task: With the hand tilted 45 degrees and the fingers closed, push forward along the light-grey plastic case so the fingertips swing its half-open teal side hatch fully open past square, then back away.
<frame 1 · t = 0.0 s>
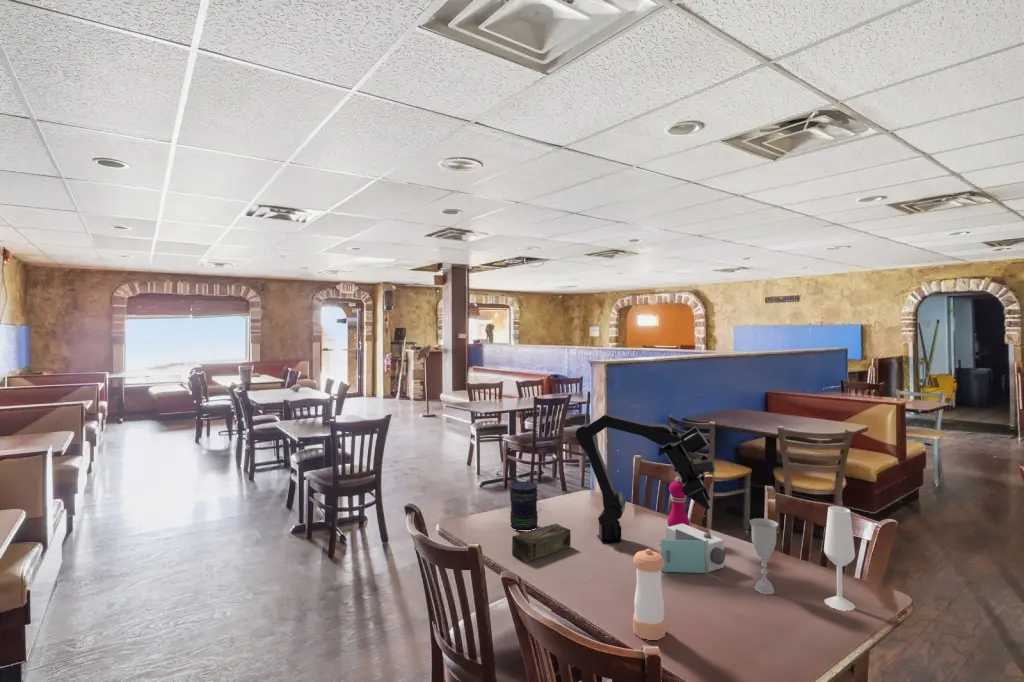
hand: (708, 504, 169), 15 cm above the table, tool tilted 35°, fingers open, 9 cm apart
beverage carton: (541, 552, 171), on the table
salt shaker: (649, 633, 124), on the table
chalice: (764, 590, 143), on the table
pepper mill: (678, 536, 182), on the table
hatch: (683, 556, 154), point 5 cm above the table, hinge at 55.0°
case: (694, 559, 163), on the table
champagne flute: (839, 604, 135), on the table
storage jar: (524, 527, 193), on the table
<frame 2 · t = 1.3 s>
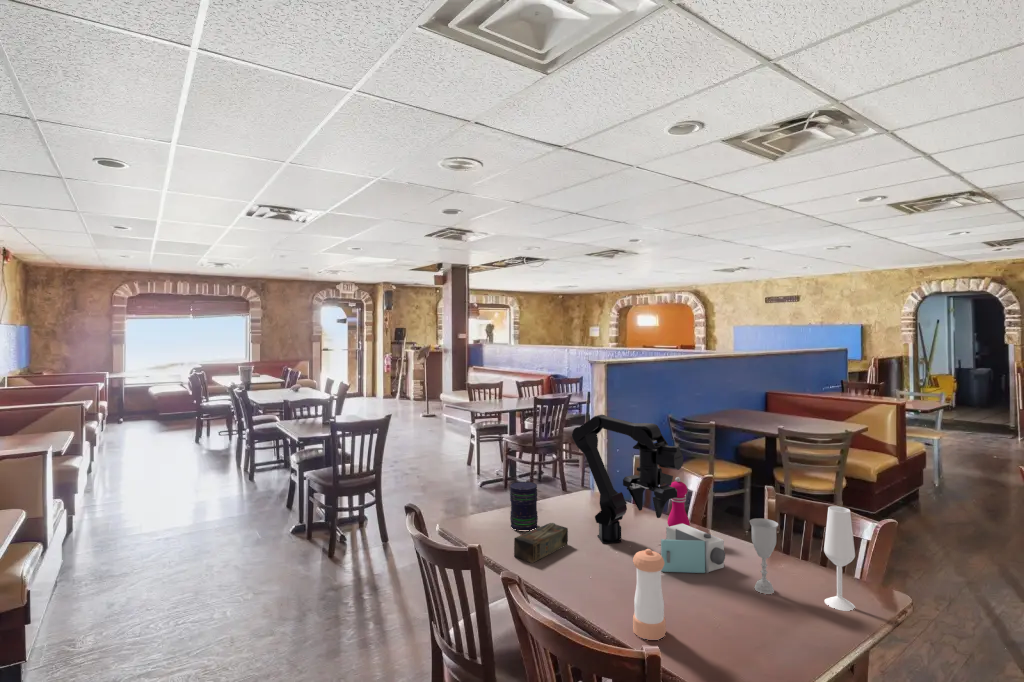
hand: (649, 514, 169), 12 cm above the table, tool pointing down, fingers open, 8 cm apart
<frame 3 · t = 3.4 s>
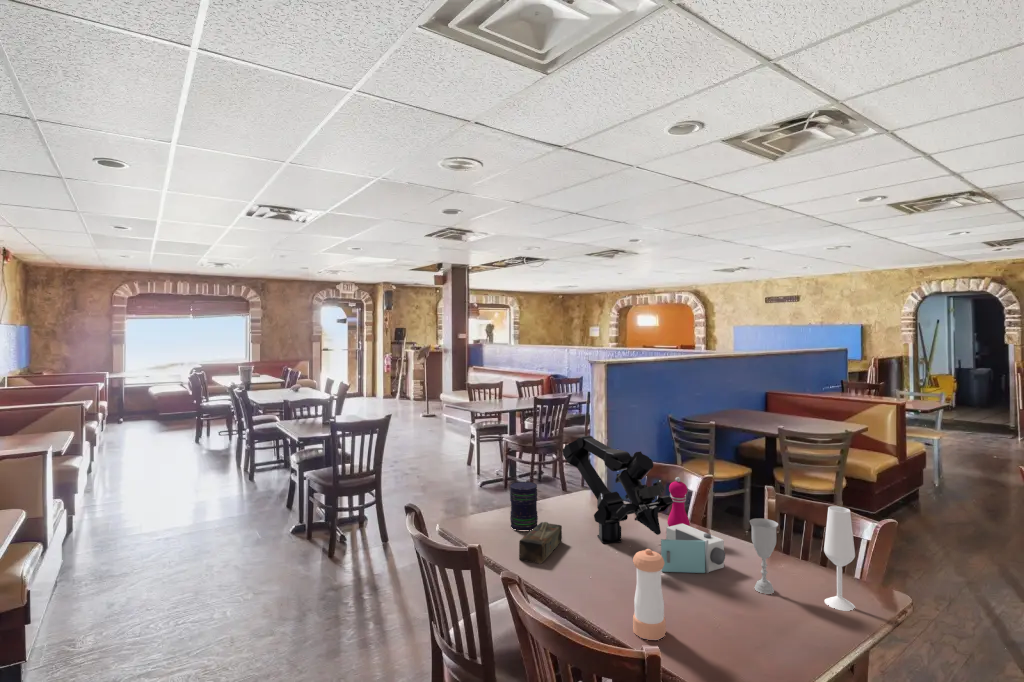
hand: (659, 534, 159), 9 cm above the table, tool tilted 45°, fingers closed
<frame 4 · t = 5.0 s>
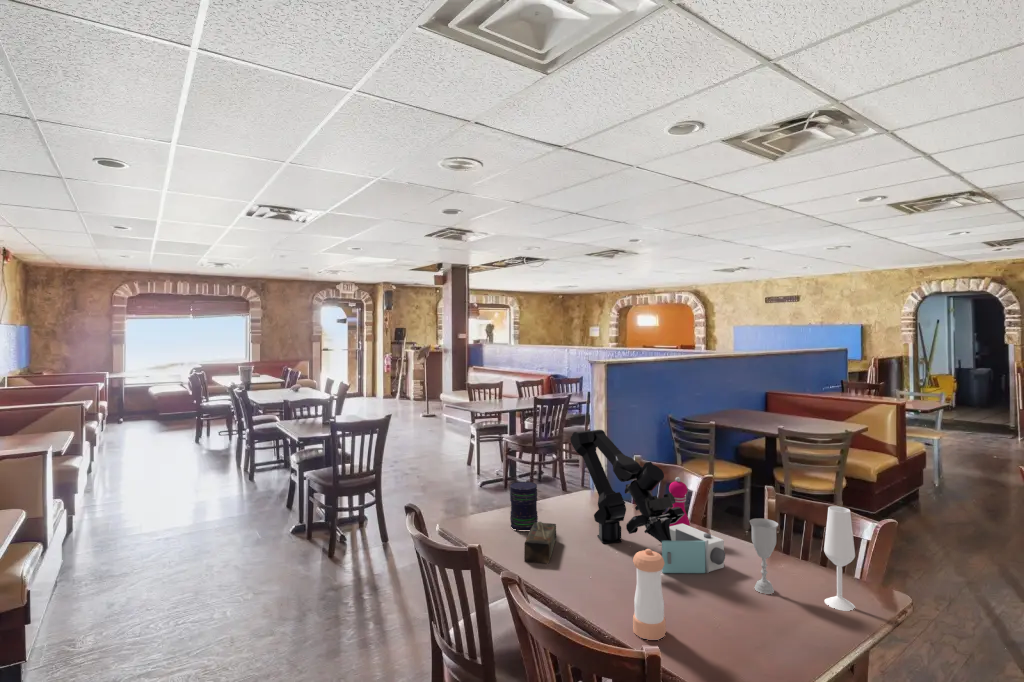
hand: (670, 547, 155), 7 cm above the table, tool tilted 45°, fingers closed
hatch: (683, 557, 153), point 5 cm above the table, hinge at 59.1°, touching gripper
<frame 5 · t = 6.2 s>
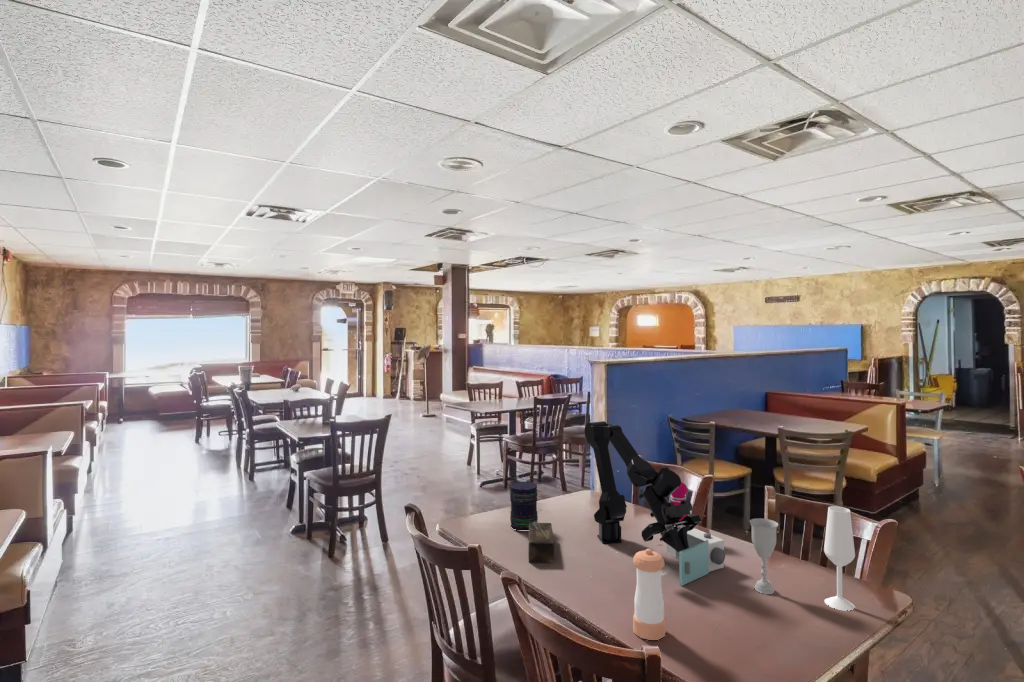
hand: (687, 555, 149), 7 cm above the table, tool tilted 45°, fingers closed
hatch: (695, 563, 149), point 5 cm above the table, hinge at 97.8°, touching gripper
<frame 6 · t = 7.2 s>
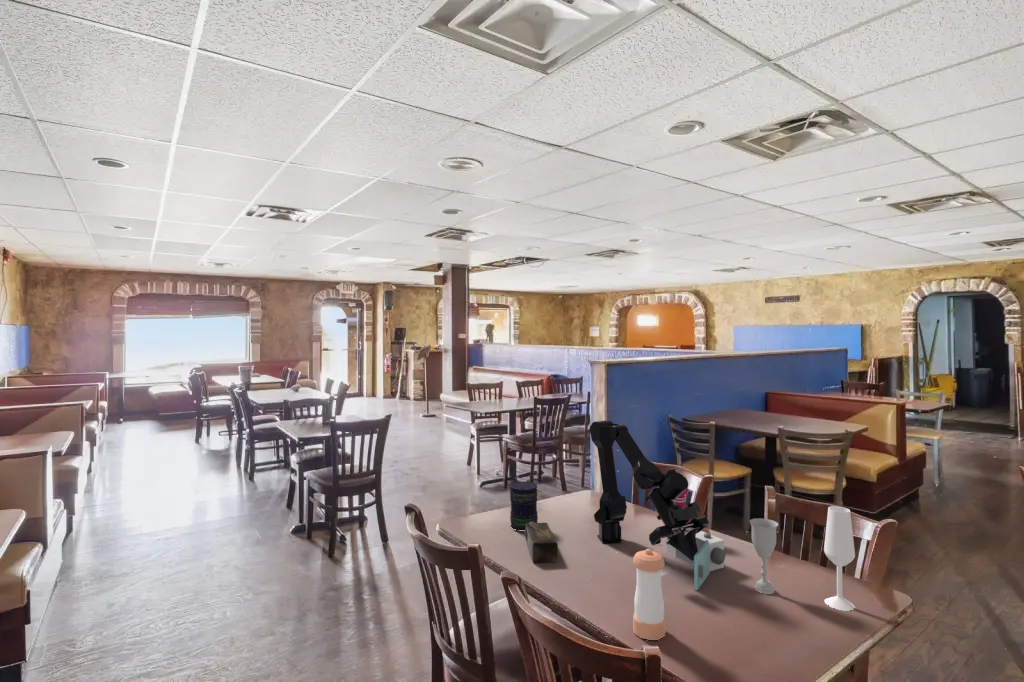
hand: (695, 559, 147), 7 cm above the table, tool tilted 45°, fingers closed
hatch: (703, 565, 148), point 5 cm above the table, hinge at 116.8°, touching gripper
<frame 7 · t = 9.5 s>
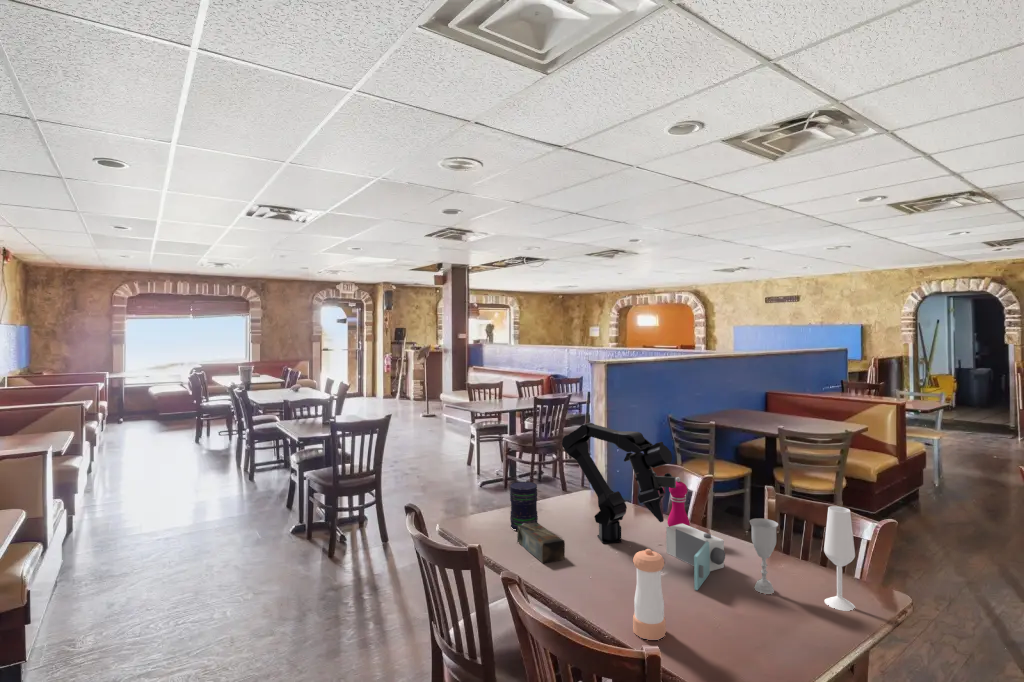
hand: (662, 521, 165), 11 cm above the table, tool tilted 25°, fingers closed
hatch: (703, 565, 148), point 5 cm above the table, hinge at 116.8°
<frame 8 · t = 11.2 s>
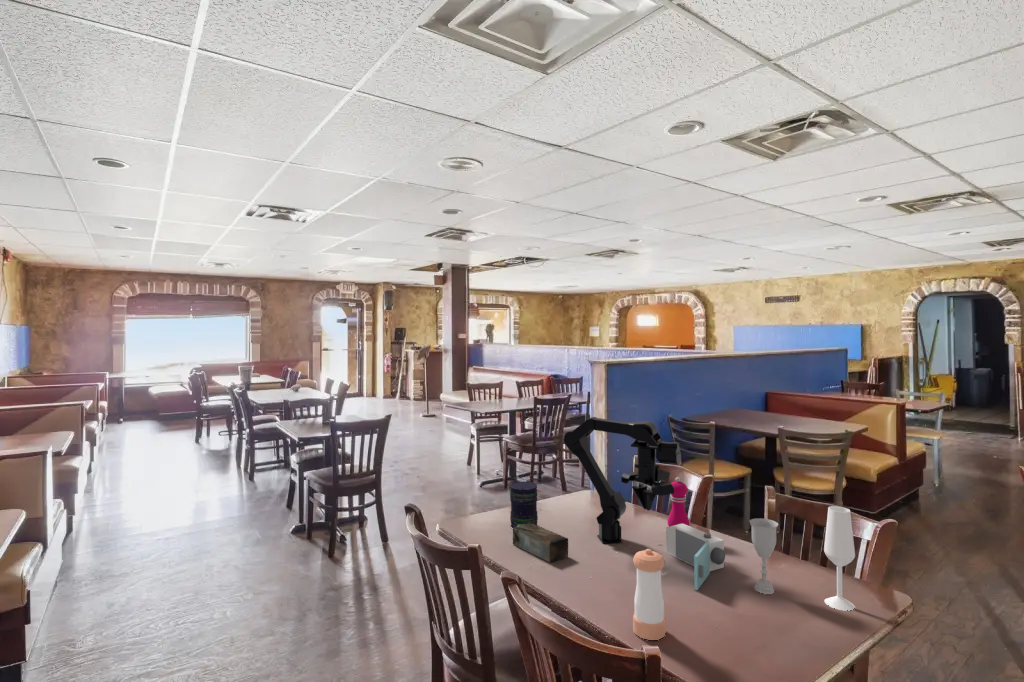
hand: (647, 509, 173), 12 cm above the table, tool pointing down, fingers closed
at the end: hatch at +117° (first picture: +55°) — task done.
